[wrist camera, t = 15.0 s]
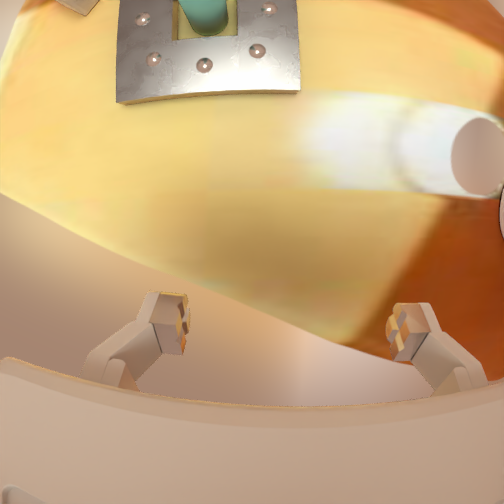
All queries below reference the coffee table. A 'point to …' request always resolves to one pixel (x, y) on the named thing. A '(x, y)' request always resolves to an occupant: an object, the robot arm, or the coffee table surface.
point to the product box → (79, 5)
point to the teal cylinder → (206, 15)
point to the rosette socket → (205, 53)
